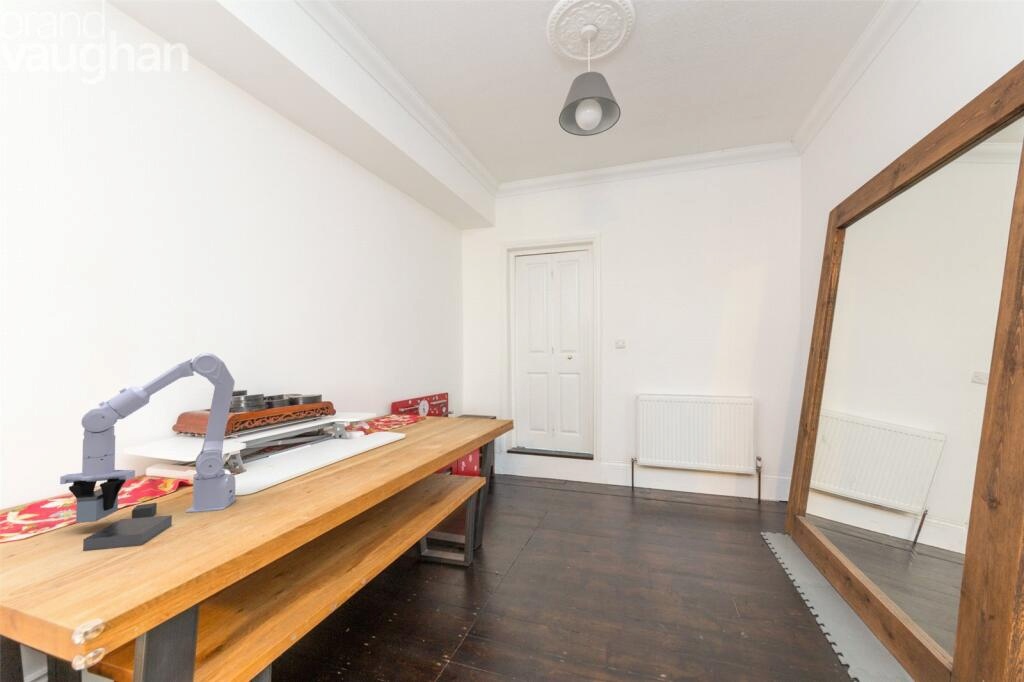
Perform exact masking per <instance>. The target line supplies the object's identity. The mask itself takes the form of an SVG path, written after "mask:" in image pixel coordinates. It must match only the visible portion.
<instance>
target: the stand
mask: <svg viewBox="0 0 1024 682" xmlns="http://www.w3.org/2000/svg"><path fill="white" fill-rule="evenodd" d="M172 516H173V515H171V514H170V515H169V514H168V515H160V516H159V515H158V516H157V515H156V516H153V517H145V518H133V519H132V518H125V519H124V518H123V519H119V520H117V521H115V522H114V523H111V524H110V525H108V526H106V527H104V528H102V529H100V530H98V531H97V532H95V533H92V534H91V535H89V536H87V537H85V538H83V542H82V550H83V551H84V552H85V551H95V550H104V549H115V548H116V549H117V548H126V547H133V546H134V547H136V546H142V545H144V544H146V543H147V542H149V540H151V539H153V538H154V537H156V536H157V535H159V534H160V533H162V532H164V531H165V530H166V529H168V528H170V527H172V523H173V521H172V519H173V517H172Z"/></svg>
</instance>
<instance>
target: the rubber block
mask: <svg viewBox="0 0 1024 682" xmlns="http://www.w3.org/2000/svg"><path fill="white" fill-rule="evenodd" d="M156 514H157V502H152V503H143V504H138V505H136V506H134V507H133V509H131V519H133V518H145V517H155V515H156Z"/></svg>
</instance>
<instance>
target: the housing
mask: <svg viewBox="0 0 1024 682" xmlns="http://www.w3.org/2000/svg"><path fill="white" fill-rule="evenodd" d="M118 507H119V494H118V495H117V497H116V500H115V503H114V507H113V508H111V509H109V510H106V511H104V507H103V493H102V489H101V488H98V489H96V490H94V491H93V492H91V493H88V494H86V495H83V496H81V497H78V498H77V499H76V512H75V513H76V516H75V518H76V519H75V520H76V521H75V523H76V524H80V523H82V524H83V523H94V522H98V521H100V520H101V519H104V518H106V517H108V516H110V515H111V514H114V513H115V512H118V511H119V510H118Z"/></svg>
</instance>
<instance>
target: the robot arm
mask: <svg viewBox="0 0 1024 682" xmlns="http://www.w3.org/2000/svg"><path fill="white" fill-rule="evenodd" d="M194 373H196V374H198V375H200V376H202V377H203V378H205V379H207V380H208V381H209V383H211V384H212V386H214V390H213V396H212V399H211V405H210V410H209V415H208V420H207V425H206V430H205V435H204V439H203V444H202V447H201V451H200V453H199V454H198V455H197V457H196V458H195V472H196V474H194V475H193V478H192V479H193V481H192V482H193V483H192V484H193V487H192V498H193V499H192V506H191V507H189V508H188V509H186V510H185V513H186V514H188V513H201V512H211V511H223V510H225V509H226V508H228V507H229V506H230V505H232V504H233V503H234V502H235V501H237V498H236V476H235V475H234V474H232V473H226V471H225V470H224V466H225V462H224V459H223V450H224V440H225V434H226V431H227V425H228V420H229V419H228V418H229V413H230V408H231V405H232V400H233V399H232V398H233V394H234V388H235V379H234V377H233V376H232V374H231V373H230V371H229V369H228V367H227V366H226V364H225V362H224V361H223V360H222V359H221V358H219V357H218V356H217V355H215V354H213V353H209V352H205V353H203V352H202V353H200V354H198V355H197V356H195V357H194V358H190V359H188V360H185V361H183V362H181V363H178V364H176V365H174V366H172V367H171V368H170V369H168V370H166V371H164V372H162V373H161V374H159V375H158V376H157V377H155V378H153V379H152V380H151V381H149V382H148V383H147V382H146V384H145V385H142V386H130V387H128V388H126V387H124V388H122V389H120V390H119V393H118V394H116V396H114V397H112V398H110V399H108V400H107V401H101V402H100V403H98V406H99V407H97V408H92V409H89V411H88V412H86V413H85V414H84V415H83V417H82V419H81V423H80V424H81V426H82V427H83V439H82V464H81V465H82V467H81V469H82V470H81V472H79V473H67V474H63V475H61V476H60V478H59V479H60V480H59V484H60V485H66V484H72V485H70V486H69V487H68V490H69V492H71V494H72V495H73V496H74V497H75V499H76V500H77V498H78V497H81V496H83V495H86V494H88V493H91V492H93V491H95V488H96V485H97V482H100V481H102V483H100V484H99V487H100V489H102V493H103V507H104V511H106V510H109V509H111V508H113V507H114V503H115V500H116V497H117V495H118V496H119V493H120V490H121V489H122V487H123V486H124V485H125V483H126V481H127V480H128V481H129V480H132V479H134V478H136V469H116V465H115V464H116V435H115V424H116V423H117V422H118V420H124V419H126V418H127V417H129V416H130V415H132V414H133V413H135V412H136V411H138V410H140V409H141V408H143V407H145V406H146V405H148V404H149V403H150V400H151V396H152V395H154V394H155V393H157V392H159V391H161V390H162V389H164V388H166V387H167V386H168V387H169V386H170V385H171V384H172V383H174V382H176V381H178V380H180V379H182V378H188V377H194V376H195V374H194ZM103 481H104V482H103Z"/></svg>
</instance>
